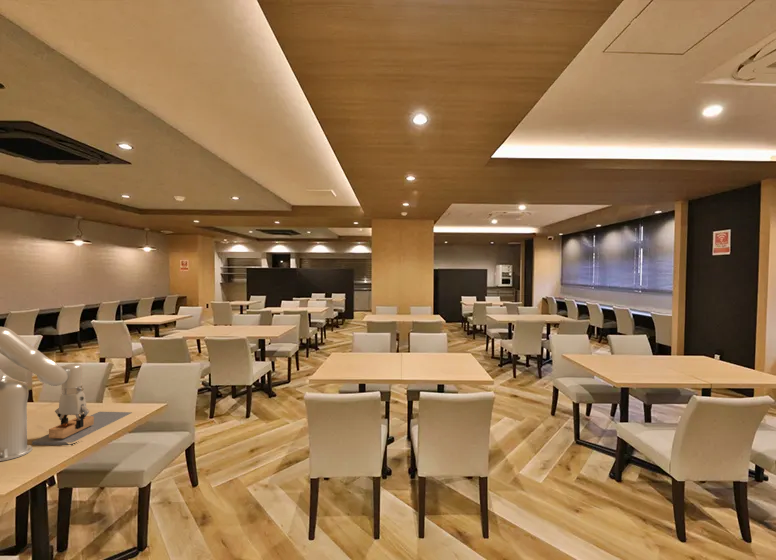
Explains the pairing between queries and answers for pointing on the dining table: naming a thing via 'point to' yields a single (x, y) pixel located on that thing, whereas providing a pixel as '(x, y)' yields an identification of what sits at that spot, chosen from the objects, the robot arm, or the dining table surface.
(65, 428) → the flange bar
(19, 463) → the dining table surface
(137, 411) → the dining table surface
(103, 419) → the board
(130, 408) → the dining table surface
